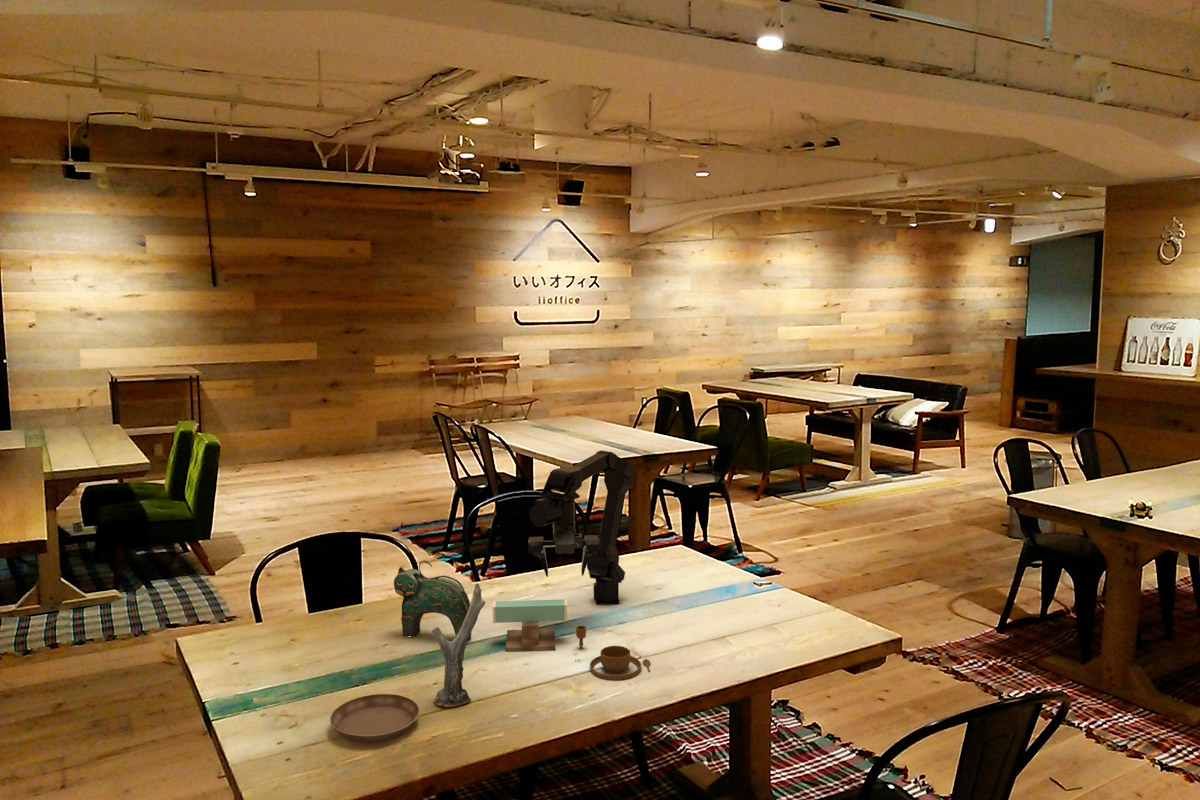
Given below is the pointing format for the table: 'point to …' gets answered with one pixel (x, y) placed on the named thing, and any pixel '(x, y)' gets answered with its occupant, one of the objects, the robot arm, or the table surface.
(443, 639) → the bare tree trunk
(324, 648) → the table surface
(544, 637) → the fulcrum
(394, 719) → the plant saucer
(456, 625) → the ceramic cat
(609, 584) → the robot arm
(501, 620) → the bar
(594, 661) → the place setting
